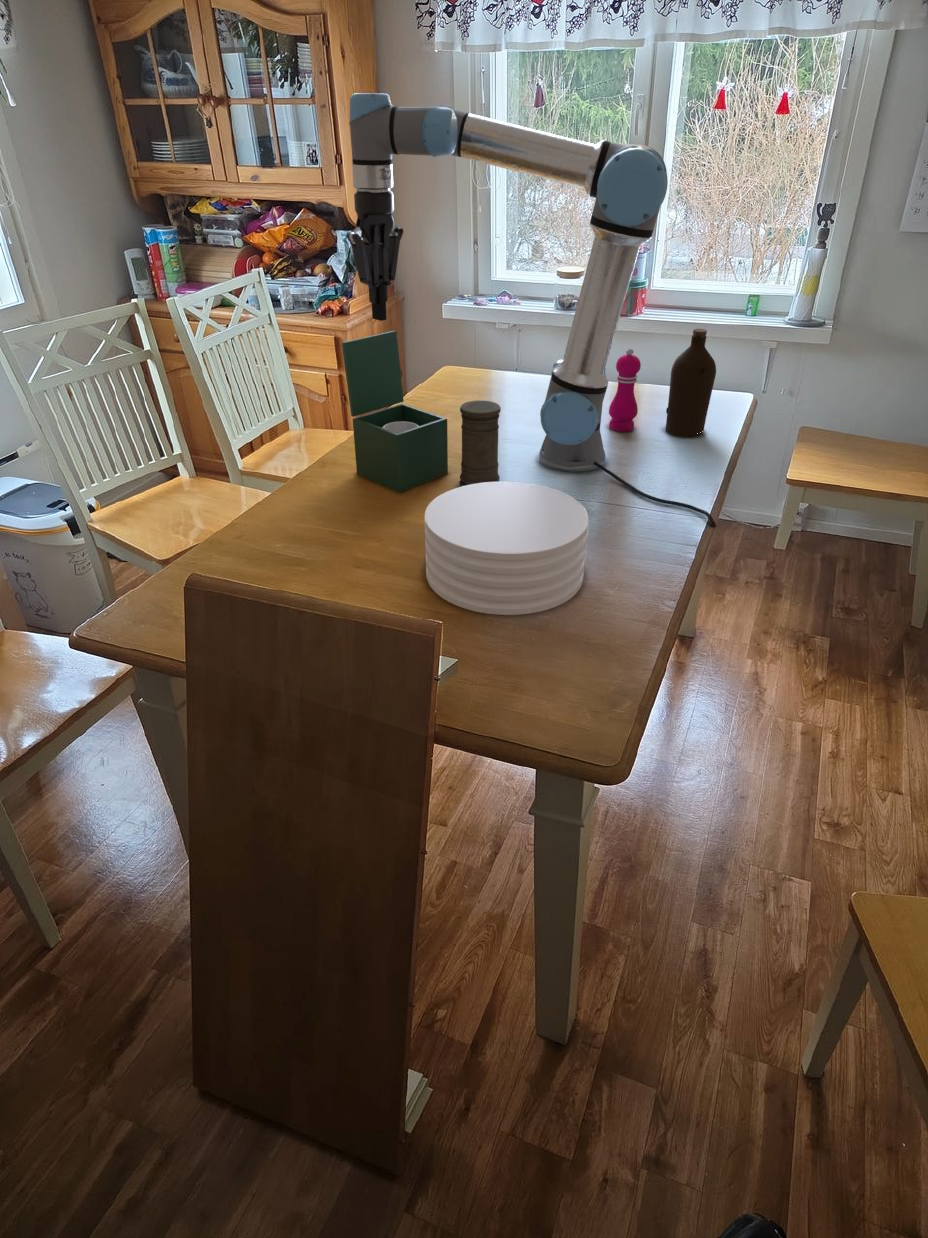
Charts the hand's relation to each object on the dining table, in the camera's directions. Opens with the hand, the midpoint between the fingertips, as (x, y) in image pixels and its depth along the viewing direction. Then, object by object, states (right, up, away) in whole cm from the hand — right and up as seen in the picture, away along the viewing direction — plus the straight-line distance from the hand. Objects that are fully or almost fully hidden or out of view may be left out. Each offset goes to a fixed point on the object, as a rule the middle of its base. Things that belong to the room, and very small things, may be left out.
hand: (379, 318), depth 164 cm
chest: (+4, -29, +15) cm, 33 cm away
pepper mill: (+58, -13, +41) cm, 72 cm away
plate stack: (+25, -54, -22) cm, 63 cm away
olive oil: (+74, -14, +39) cm, 84 cm away
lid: (-2, -9, +8) cm, 12 cm away
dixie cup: (+4, -29, +15) cm, 33 cm away
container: (+21, -33, +9) cm, 40 cm away
